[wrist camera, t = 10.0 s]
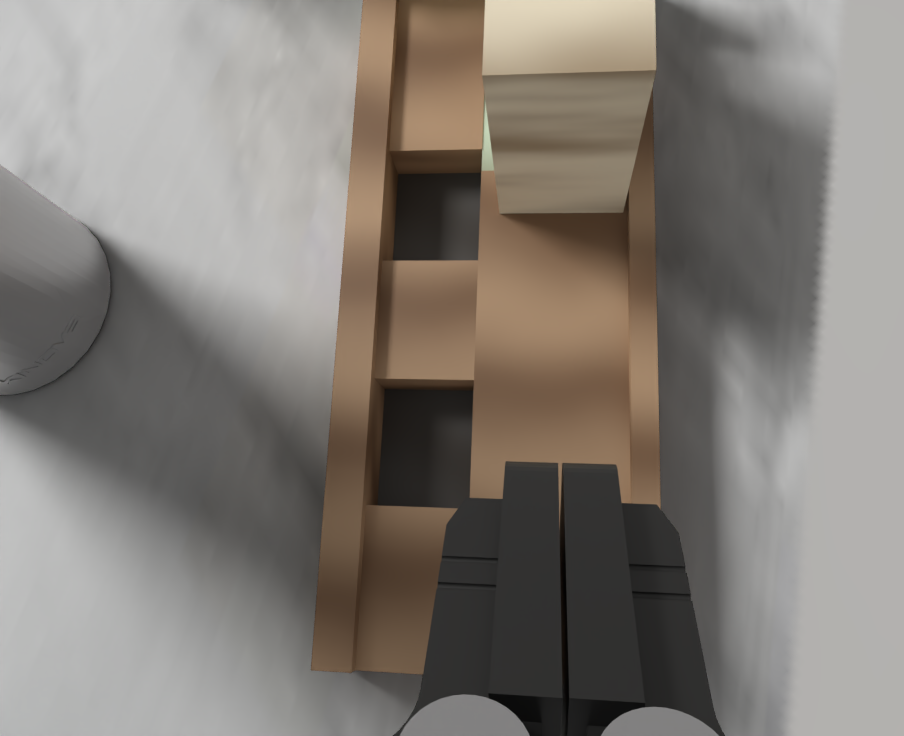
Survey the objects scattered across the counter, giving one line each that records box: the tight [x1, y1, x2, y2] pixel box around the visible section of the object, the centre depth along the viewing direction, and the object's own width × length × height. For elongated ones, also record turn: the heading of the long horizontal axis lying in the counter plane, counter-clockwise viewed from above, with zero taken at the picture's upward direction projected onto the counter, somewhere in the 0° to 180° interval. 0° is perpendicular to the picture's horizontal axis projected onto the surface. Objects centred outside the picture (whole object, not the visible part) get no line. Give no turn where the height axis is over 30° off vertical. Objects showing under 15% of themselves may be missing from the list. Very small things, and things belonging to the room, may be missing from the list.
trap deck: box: [311, 0, 661, 675], centre depth 31 cm, size 30×12×6 cm, turn 178°
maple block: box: [482, 0, 656, 214], centre depth 28 cm, size 10×5×10 cm, turn 178°
